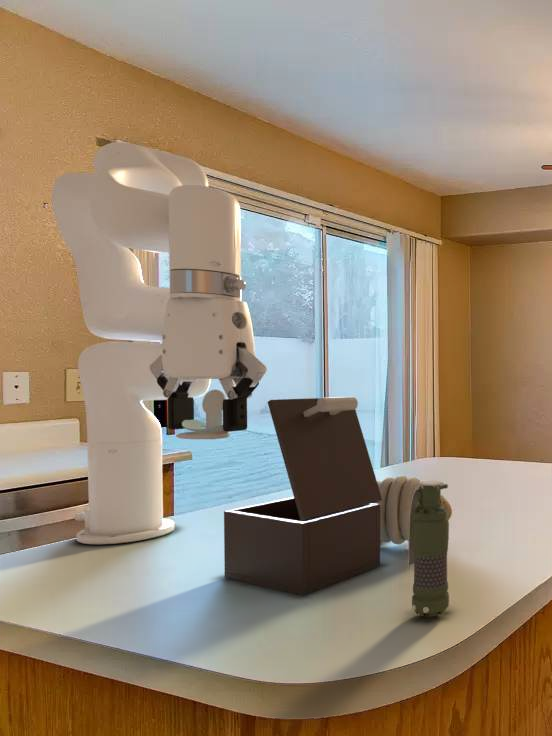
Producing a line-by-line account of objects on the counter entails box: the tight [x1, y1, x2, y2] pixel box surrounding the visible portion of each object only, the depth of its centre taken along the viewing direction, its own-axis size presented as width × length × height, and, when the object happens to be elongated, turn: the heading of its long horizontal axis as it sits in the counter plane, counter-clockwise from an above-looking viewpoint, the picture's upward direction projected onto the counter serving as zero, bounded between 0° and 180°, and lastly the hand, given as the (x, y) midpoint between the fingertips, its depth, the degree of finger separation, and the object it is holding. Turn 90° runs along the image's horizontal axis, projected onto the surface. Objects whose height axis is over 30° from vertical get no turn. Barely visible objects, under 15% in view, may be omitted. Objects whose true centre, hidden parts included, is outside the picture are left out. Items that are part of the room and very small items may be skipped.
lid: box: [267, 396, 382, 521], centre depth 77 cm, size 15×13×5 cm
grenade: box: [408, 480, 450, 618], centre depth 66 cm, size 4×4×15 cm
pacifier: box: [175, 389, 231, 440], centre depth 75 cm, size 7×6×6 cm
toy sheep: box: [375, 475, 453, 545], centre depth 93 cm, size 11×17×11 cm, turn 98°
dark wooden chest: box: [223, 496, 381, 596], centre depth 80 cm, size 15×13×9 cm
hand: (208, 428), depth 75 cm, fingers closed on pacifier, 7 cm apart
